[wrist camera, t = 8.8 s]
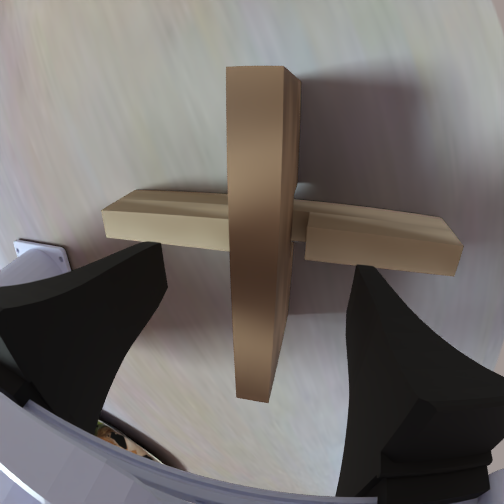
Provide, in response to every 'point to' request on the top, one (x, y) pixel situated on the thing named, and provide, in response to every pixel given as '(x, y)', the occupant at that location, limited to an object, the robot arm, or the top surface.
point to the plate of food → (120, 440)
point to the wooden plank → (260, 216)
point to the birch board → (293, 230)
